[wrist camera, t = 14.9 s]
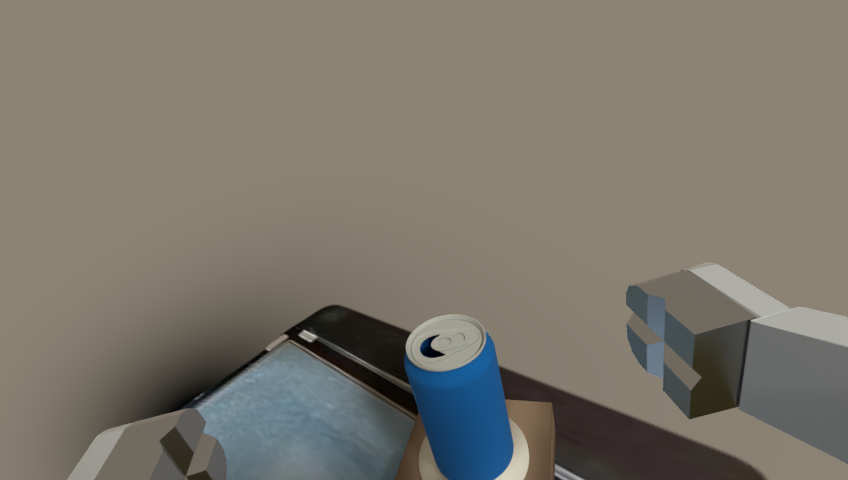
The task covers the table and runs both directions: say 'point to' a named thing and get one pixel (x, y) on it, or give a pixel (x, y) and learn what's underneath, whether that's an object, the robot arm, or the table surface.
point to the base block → (531, 438)
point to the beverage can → (460, 397)
